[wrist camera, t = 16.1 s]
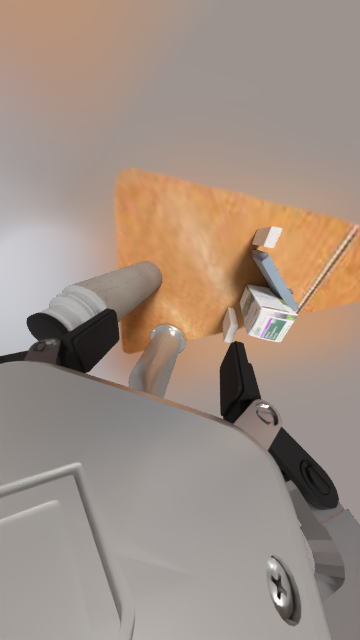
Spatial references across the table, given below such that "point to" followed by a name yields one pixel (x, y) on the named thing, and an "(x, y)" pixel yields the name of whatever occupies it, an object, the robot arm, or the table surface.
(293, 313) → the syrup box
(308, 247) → the table surface
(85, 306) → the thermos bottle
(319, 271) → the table surface
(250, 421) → the robot arm
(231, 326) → the wall
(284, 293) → the door
